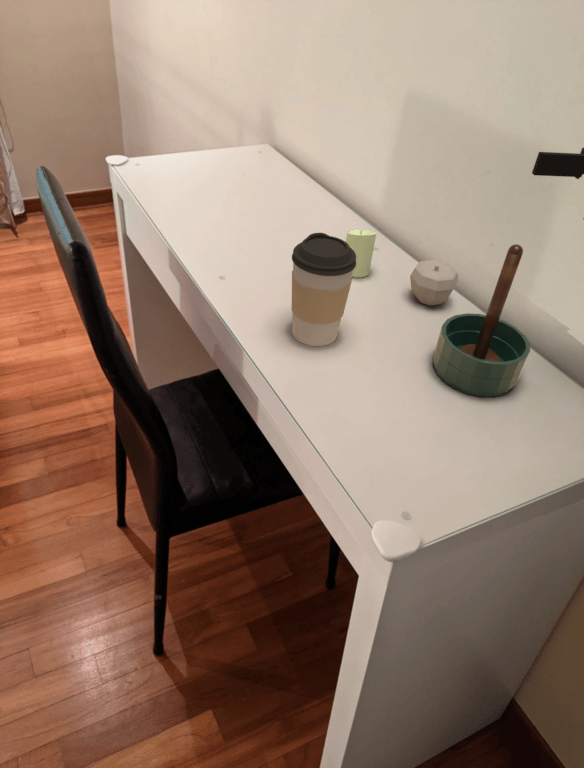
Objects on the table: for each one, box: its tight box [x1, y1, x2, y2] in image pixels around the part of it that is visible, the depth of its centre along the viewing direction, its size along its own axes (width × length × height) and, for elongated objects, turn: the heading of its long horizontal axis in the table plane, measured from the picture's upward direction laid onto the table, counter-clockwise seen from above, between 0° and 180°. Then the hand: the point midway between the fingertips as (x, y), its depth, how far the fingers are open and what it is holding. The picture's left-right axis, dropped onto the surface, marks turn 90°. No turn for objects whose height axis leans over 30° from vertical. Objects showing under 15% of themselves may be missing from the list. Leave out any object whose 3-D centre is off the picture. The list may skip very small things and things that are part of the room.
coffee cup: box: [291, 232, 356, 347], centre depth 88 cm, size 9×9×15 cm
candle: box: [345, 229, 377, 279], centre depth 107 cm, size 5×5×8 cm
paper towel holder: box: [460, 243, 524, 362], centre depth 83 cm, size 6×6×19 cm
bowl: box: [432, 312, 531, 398], centre depth 87 cm, size 12×12×6 cm
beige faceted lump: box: [409, 259, 459, 306], centre depth 102 cm, size 8×8×7 cm
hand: (560, 184), depth 72 cm, fingers open, 13 cm apart
